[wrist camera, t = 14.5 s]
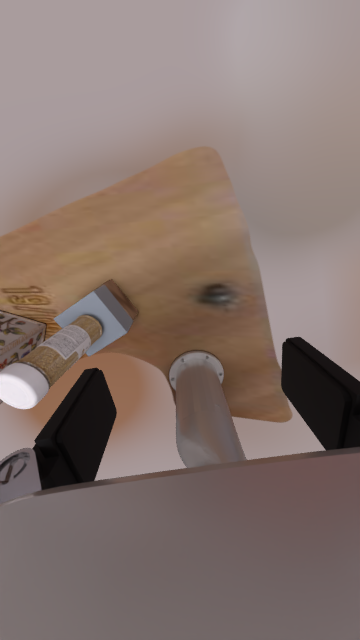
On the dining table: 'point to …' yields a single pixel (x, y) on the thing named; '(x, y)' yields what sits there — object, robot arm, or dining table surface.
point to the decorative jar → (18, 338)
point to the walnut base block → (121, 298)
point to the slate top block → (99, 316)
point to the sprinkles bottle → (47, 363)
